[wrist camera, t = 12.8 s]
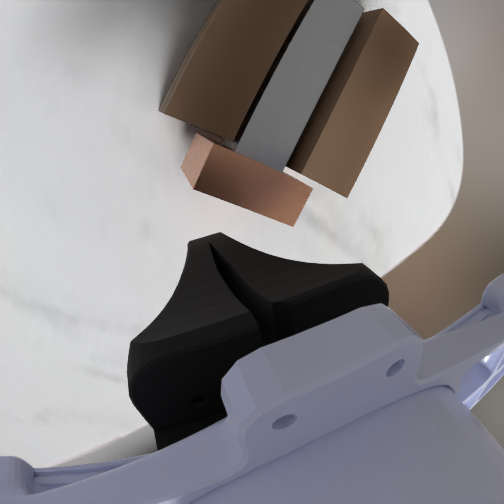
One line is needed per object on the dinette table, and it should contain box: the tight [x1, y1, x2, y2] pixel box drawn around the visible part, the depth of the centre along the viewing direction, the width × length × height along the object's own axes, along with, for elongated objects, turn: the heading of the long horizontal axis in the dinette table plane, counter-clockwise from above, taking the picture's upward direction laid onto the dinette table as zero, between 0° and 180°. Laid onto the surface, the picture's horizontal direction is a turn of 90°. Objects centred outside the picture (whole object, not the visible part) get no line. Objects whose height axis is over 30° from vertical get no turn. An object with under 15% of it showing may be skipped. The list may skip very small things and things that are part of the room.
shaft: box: [181, 0, 365, 227], centre depth 11 cm, size 4×10×4 cm, turn 153°
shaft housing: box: [159, 0, 419, 198], centre depth 11 cm, size 8×8×5 cm
